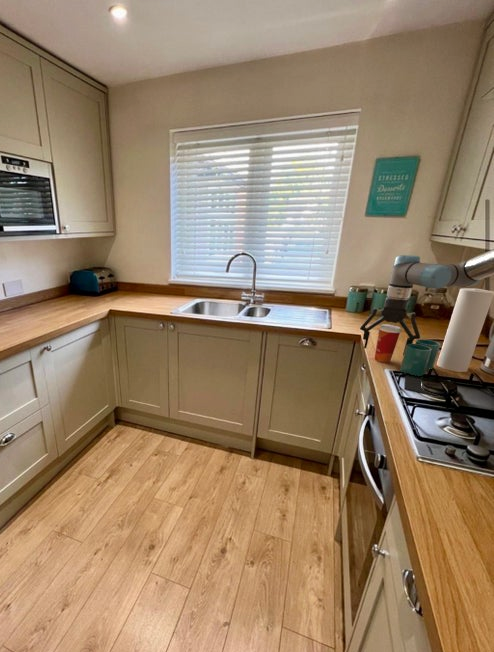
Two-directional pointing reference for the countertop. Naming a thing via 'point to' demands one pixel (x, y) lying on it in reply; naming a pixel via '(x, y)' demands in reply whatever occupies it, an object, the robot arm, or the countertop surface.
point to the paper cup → (386, 342)
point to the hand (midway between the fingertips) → (384, 350)
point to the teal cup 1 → (415, 359)
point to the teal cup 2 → (434, 351)
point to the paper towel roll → (464, 329)
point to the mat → (415, 386)
